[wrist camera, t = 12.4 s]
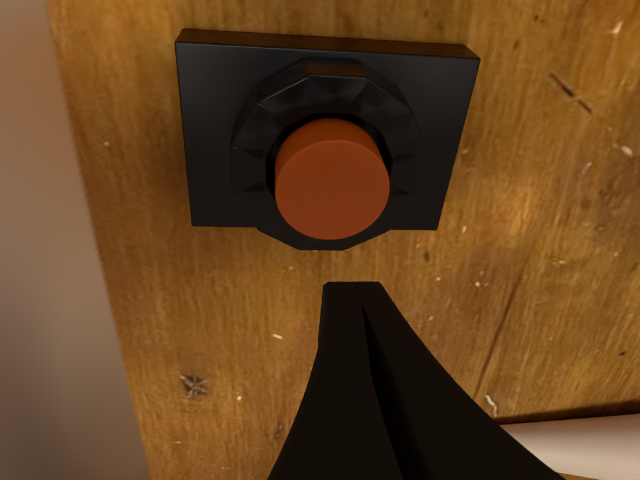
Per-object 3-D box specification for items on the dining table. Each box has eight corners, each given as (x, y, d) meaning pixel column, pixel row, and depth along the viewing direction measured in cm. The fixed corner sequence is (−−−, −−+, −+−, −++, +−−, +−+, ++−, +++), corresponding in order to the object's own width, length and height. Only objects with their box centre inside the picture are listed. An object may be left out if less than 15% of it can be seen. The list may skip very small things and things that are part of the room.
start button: (273, 211, 18) (273, 239, 16) (275, 114, 16) (276, 138, 14) (372, 213, 18) (381, 241, 17) (388, 119, 16) (399, 142, 15)
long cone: (455, 350, 30) (751, 387, 31) (426, 405, 34) (688, 436, 36) (473, 440, 26) (816, 479, 27) (437, 490, 30) (735, 522, 31)
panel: (196, 204, 21) (185, 254, 18) (182, 28, 17) (163, 57, 14) (427, 209, 22) (449, 257, 19) (465, 45, 18) (502, 75, 15)
